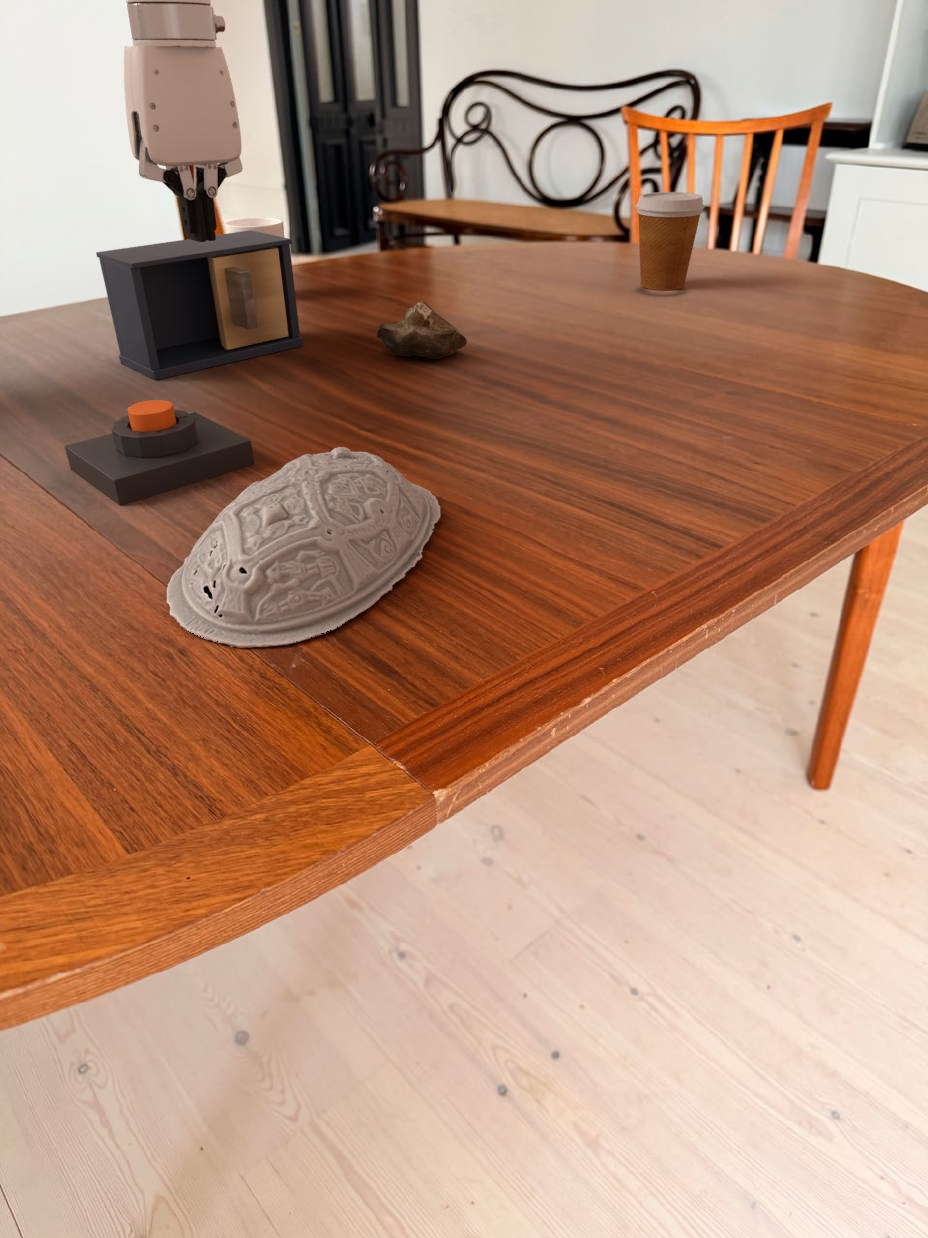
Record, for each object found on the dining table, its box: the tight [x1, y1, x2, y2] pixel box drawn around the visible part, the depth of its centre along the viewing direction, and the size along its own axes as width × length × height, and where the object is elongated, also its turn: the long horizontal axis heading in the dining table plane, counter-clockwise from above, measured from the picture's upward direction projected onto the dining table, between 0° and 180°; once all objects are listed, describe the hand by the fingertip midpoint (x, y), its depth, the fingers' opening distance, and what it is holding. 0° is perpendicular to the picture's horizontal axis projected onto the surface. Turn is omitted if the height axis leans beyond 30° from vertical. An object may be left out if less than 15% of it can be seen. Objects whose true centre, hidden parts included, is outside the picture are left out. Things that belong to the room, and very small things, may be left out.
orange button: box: [127, 399, 177, 432], centre depth 74 cm, size 4×4×2 cm
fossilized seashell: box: [376, 300, 468, 360], centre depth 103 cm, size 8×7×10 cm
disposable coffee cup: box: [635, 191, 706, 291], centre depth 129 cm, size 10×10×12 cm
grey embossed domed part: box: [166, 446, 442, 649], centre depth 62 cm, size 16×25×7 cm, turn 159°
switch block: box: [64, 409, 255, 507], centre depth 76 cm, size 12×10×4 cm
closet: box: [95, 230, 304, 381], centre depth 103 cm, size 19×9×12 cm, turn 132°
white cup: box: [225, 217, 285, 238], centre depth 128 cm, size 8×8×10 cm
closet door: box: [210, 247, 289, 350], centre depth 101 cm, size 8×4×10 cm, turn 132°
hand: (201, 239), depth 94 cm, fingers closed
